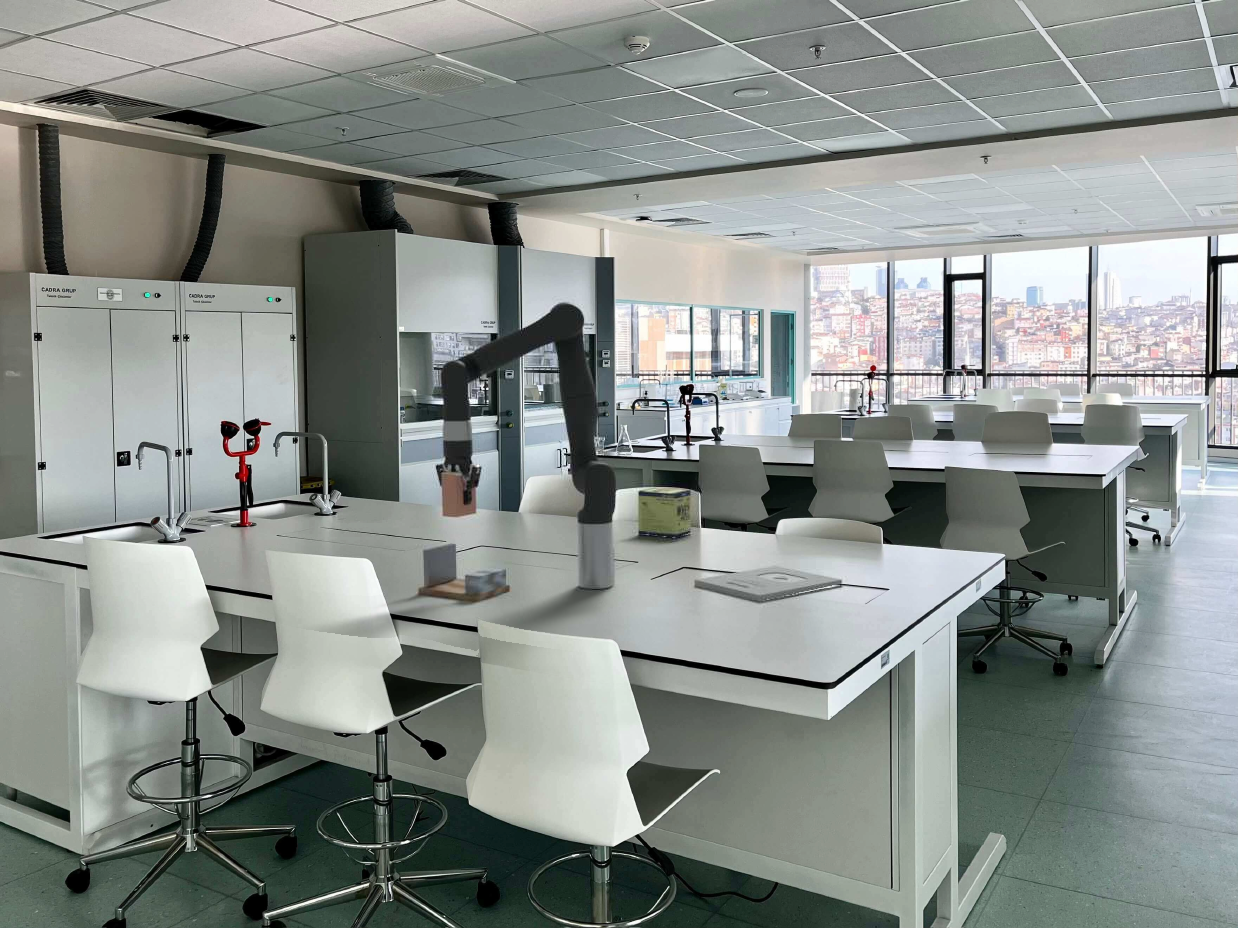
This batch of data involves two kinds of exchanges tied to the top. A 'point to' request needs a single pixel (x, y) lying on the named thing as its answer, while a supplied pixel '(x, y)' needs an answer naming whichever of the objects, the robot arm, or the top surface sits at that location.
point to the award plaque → (766, 583)
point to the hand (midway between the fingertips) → (459, 503)
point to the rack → (471, 586)
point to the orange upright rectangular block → (455, 496)
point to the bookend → (439, 564)
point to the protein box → (664, 512)
